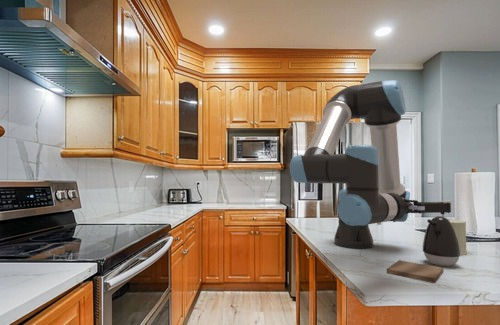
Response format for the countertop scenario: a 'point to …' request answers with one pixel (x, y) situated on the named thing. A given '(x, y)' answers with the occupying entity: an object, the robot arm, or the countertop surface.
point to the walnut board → (415, 271)
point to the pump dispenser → (441, 242)
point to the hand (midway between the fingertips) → (424, 203)
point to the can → (460, 234)
